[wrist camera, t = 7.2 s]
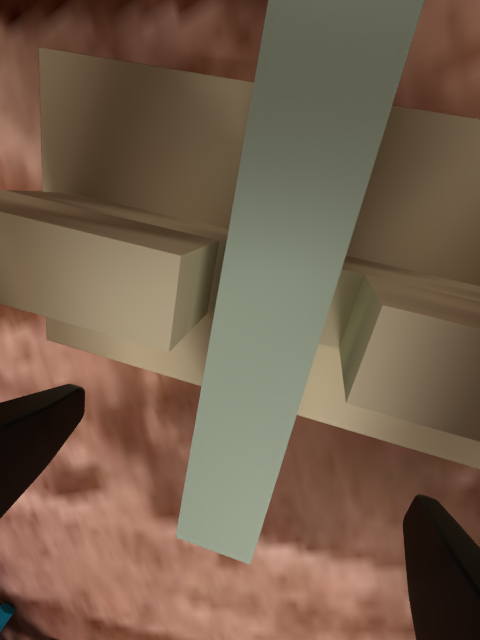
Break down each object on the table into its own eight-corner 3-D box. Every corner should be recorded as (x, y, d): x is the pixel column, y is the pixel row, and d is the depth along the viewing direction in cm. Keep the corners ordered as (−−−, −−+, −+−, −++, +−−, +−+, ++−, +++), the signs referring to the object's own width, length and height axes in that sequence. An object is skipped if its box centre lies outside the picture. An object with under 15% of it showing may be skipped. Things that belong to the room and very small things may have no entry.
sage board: (381, 64, 9) (453, -93, 4) (275, 435, 13) (250, 564, 8) (304, 53, 9) (286, -105, 4) (225, 419, 13) (175, 537, 9)
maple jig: (696, 162, 8) (1316, 99, 3) (503, 465, 12) (640, 666, 7) (52, 54, 11) (-193, -79, 6) (57, 334, 14) (-88, 408, 9)
